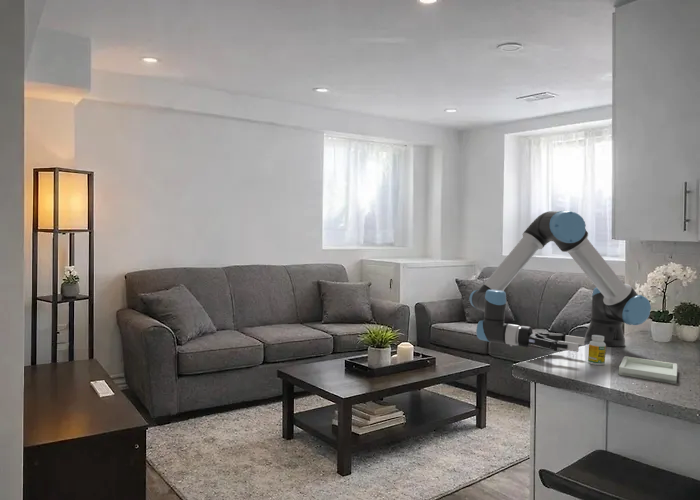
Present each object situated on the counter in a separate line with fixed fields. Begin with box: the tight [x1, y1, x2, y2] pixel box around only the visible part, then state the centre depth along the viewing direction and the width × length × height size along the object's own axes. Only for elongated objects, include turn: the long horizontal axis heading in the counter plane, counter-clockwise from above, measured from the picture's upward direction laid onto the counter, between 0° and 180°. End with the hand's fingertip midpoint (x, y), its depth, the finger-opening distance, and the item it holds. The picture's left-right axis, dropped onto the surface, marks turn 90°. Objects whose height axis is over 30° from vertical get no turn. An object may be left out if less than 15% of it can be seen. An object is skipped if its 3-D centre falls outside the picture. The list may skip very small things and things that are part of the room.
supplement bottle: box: [587, 335, 607, 366], centre depth 196 cm, size 5×5×10 cm
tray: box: [618, 355, 678, 385], centre depth 186 cm, size 20×16×2 cm
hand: (581, 344), depth 198 cm, fingers open, 13 cm apart
